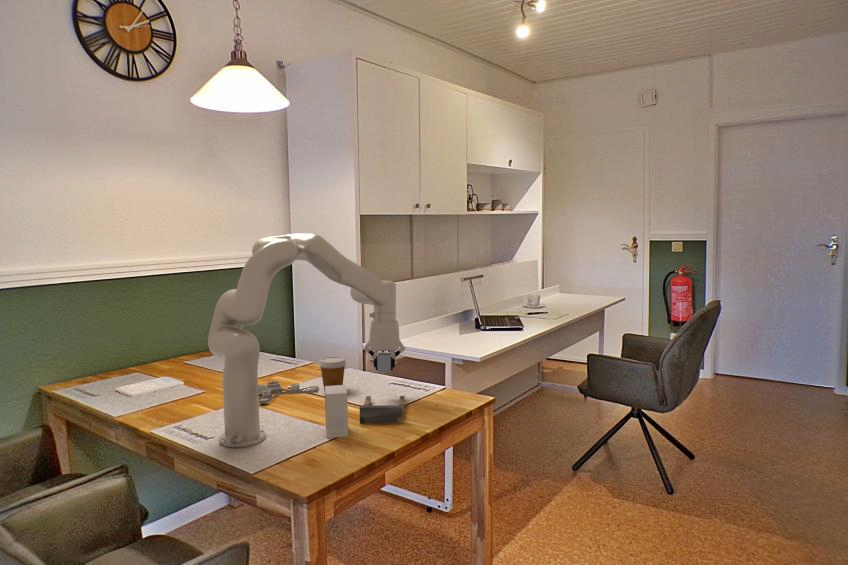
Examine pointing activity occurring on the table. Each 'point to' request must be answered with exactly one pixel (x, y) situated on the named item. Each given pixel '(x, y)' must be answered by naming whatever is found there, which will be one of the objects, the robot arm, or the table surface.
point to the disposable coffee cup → (332, 371)
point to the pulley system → (276, 388)
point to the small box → (336, 411)
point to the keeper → (383, 362)
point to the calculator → (149, 386)
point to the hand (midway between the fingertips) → (384, 368)
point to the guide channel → (381, 412)
